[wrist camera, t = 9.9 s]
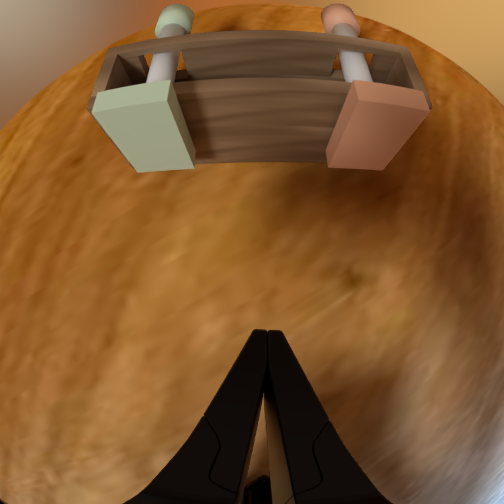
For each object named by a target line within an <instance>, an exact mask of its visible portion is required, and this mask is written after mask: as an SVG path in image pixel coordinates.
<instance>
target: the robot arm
mask: <svg viewBox="0 0 504 504" xmlns="http://www.w3.org/2000/svg"><path fill="white" fill-rule="evenodd" d="M263 393H264V410H265V422H266V433H267V445H268V456H269V468H270V478H269V477H267V476H261V477H259V478H258V479H256V480H255V481H254V482H252V483H251V484H249V485H248V486H247V487H245V483H246V479H247V474H248V469H249V465H250V460H251V455H252V451H253V446H254V441H255V436H256V431H257V426H258V421H259V416H260V411H261V406H262V400H263ZM328 420H329V418H328V416H327V414H326V412H325V410H324V408H323V407H322V405H321V403H320V401H319V399H318V397H317V396H316V394H315V392H314V390H313V388H312V386H311V384H310V383H309V381H308V379H307V377H306V375H305V373H304V371H303V369H302V368H301V366H300V364H299V362H298V360H297V358H296V356H295V355H294V353H293V351H292V349H291V347H290V345H289V343H288V341H287V340H286V338H285V336H284V334H283V332H282V331H280V330H269V331H268V332H267V330H263V329H254V330H253V331H252V333H251V335H250V336H249V338H248V340H247V342H246V343H245V345H244V347H243V349H242V350H241V352H240V354H239V356H238V357H237V359H236V361H235V362H234V364H233V366H232V368H231V369H230V371H229V373H228V374H227V376H226V378H225V380H224V381H223V383H222V385H221V386H220V388H219V390H218V391H217V393H216V395H215V396H214V398H213V400H212V401H211V403H210V405H209V406H208V408H207V410H206V411H205V413H204V416H202V418H201V419H200V421H199V423H198V424H197V426H196V427H195V429H194V430H193V432H192V433H191V435H190V436H189V438H188V439H187V441H186V442H185V443H184V444H183V446H182V447H181V448H180V449H179V451H178V452H177V453H176V454H175V456H174V457H173V458H172V459H171V460H170V461H169V462H168V464H167V465H166V466H165V467H164V468H163V469H162V470H161V472H160V473H159V474H158V475H157V476H156V477H155V478H154V479H153V480H152V481H151V483H150V484H149V485H148V486H147V487H145V488H144V489H143V490H142V491H141V492H140V493H139V494H137V495H136V496H134V497H133V498H131V499H130V500H128V501H126V502H125V503H123V504H393V503H391V502H390V501H389V500H387V499H386V498H385V497H384V496H383V495H382V494H381V493H380V492H379V491H378V490H377V488H376V487H375V486H374V485H373V483H372V482H371V481H370V479H369V478H368V477H367V476H366V474H365V473H364V472H363V470H362V469H361V468H360V466H359V465H358V464H357V462H356V461H355V460H354V458H353V457H352V456H351V454H350V453H349V451H348V450H347V448H346V447H345V445H344V444H343V442H342V441H341V439H340V437H339V435H338V434H337V432H336V430H335V429H334V427H333V425H332V423H331V421H328ZM263 480H265V481H266V482H265V483H263V482H261V481H263ZM0 504H7V503H6V502H4V501H3V500H1V499H0Z"/></svg>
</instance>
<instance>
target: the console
mask: <svg viewBox="0 0 504 504" xmlns="http://www.w3.org/2000/svg"><path fill="white" fill-rule="evenodd" d="M179 49H181V52H182V55H183V59H184V63H185V66H186V70H179V71H176V76H175V81H174V83H172V85H173V88H174V91H175V93H176V96H177V99H178V102H179V105H180V108H181V111H182V113H183V116H184V119H185V122H186V125H187V128H188V130H189V133H190V136H191V139H192V142H193V144H194V147H195V150H196V154H195V164H207V163H235V162H311V163H327V156H326V148H327V145H328V143H329V140H330V138H331V135H332V133H333V130H334V128H335V125H336V123H337V120H338V118H339V115H340V113H341V110H342V108H343V105H344V102H345V100H346V97H347V95H348V92H349V89H350V87H351V84H352V83H350V82H345V79H344V75H343V71H342V70H338V69H333V65H334V62H335V58H336V55H337V51H338V49H345V50H352V51H359V52H366V53H372V54H374V55H373V57H372V59H371V62H370V64H369V67H368V68H369V71H370V74H371V77H372V80H373V82H375V83H382V84H388V85H394V86H399V87H405V88H410V89H414V90H419V91H423V93H424V95H425V98H426V101H427V103H428V106H429V109H430V110H431V109H432V104H431V102H430V99H429V96H428V94H427V91H426V89H425V86H424V84H423V81H422V79H421V76H420V74H419V72H418V69H417V67H416V65H415V63H414V60H413V58H412V56H411V54H410V52H409V50H408V48H407V47H404V46H400V45H395V44H391V43H386V42H381V41H375V40H370V39H364V38H358V37H351V36H344V35H336V34H327V33H317V32H304V31H284V30H238V31H218V32H205V33H195V34H186V35H178V36H171V37H164V38H158V39H152V40H146V41H141V42H136V43H131V44H126V45H122V46H117V47H113V48H109V50H108V52H107V54H106V57H105V59H104V62H103V64H102V67H101V69H100V72H99V75H98V77H97V80H96V83H95V86H94V88H93V91H92V94H91V97H90V100H89V103H88V106H87V110H88V111H89V113H90V114H91V115H92V117H93V118H94V119H95V121H96V122H97V123H98V124H99V122H98V121H97V120H96V118H95V117H94V116H93V114H92V113H91V112H92V109H93V106H94V103H95V99H96V96H97V93H98V92H102V91H106V90H111V89H116V88H121V87H127V86H132V85H138V84H144V83H146V81H147V77H148V74H149V67H148V65H147V62H146V60H145V57H144V55H145V54H151V53H157V52H164V51H171V50H179ZM99 126H100V127H101V128H102V130H103V131H104V132H105V133H106V131H105V130H104V129H103V127H102V126H101V125H100V124H99ZM106 135H107V136H108V137H109V135H108V134H107V133H106ZM109 139H110V140H111V141H112V142H113V140H112V139H111V138H110V137H109ZM113 144H114V145H115V146H116V144H115V143H114V142H113ZM116 148H117V149H118V150H119V151H120V149H119V148H118V147H117V146H116ZM120 153H121V154H122V155H123V153H122V152H121V151H120ZM123 156H124V155H123ZM124 158H125V159H126V160H127V158H126V157H125V156H124ZM127 161H128V160H127ZM128 163H129V164H130V165H131V163H130V162H129V161H128ZM131 166H132V165H131ZM132 168H133V169H135V168H134V167H133V166H132Z"/></svg>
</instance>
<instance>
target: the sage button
mask: <svg viewBox="0 0 504 504" xmlns="http://www.w3.org/2000/svg"><path fill="white" fill-rule="evenodd" d="M193 20H194V13H193V11H192V10H191V9H190V8H189V7H187V6H185V5H181V4H175V5H170V6H168V7H166V8H165V9H164V10H163V11H162V12H161V15H160V18H159V21H158V23H157V26H156V29H155V35H156V37H157V38H164V37H171V36H178V35H186V34H190V33H191V29H192V24H193ZM180 51H181V49H179V50H171V51H164V52H157V53H154V55H153V59H152V62H151V66H150V70H149V74H148V77H147V81H146V83H144V84H138V85H132V86H127V87H121V88H116V89H111V90H106V91H102V92H98V93H97V96H96V99H95V103H94V106H93V109H92V112H91V113H92V114H93V116H94V117H95V118H96V120H97V121H98V122H99V124H100V125H101V126H102V127H103V129H104V130H105V131H106V133H107V134H108V135H109V137H110V138H111V139H112V140H113V142H114V143H115V144H116V146H117V147H118V148H119V149H120V151H121V152H122V153H123V155H124V156H125V157H126V158H127V160H128V161H129V162H130V163H131V165H132V166H133V167H134V168H135V170H136V171H137V172H138V173H139V172H151V171H164V170H179V169H194V168H195V154H196V150H195V147H194V144H193V142H192V139H191V136H190V133H189V130H188V128H187V125H186V122H185V119H184V116H183V113H182V111H181V108H180V105H179V102H178V99H177V96H176V93H175V91H174V88H173V85H172V83H174V81H175V76H176V71H177V66H178V61H179V56H180Z"/></svg>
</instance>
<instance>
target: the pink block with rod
mask: <svg viewBox="0 0 504 504" xmlns="http://www.w3.org/2000/svg"><path fill="white" fill-rule="evenodd" d="M321 19H322V22H323V25H324V29H325V32H326V33H327V34H336V35H344V36H351V37H359V35H360V32H361V30H360V26H359V24H358V22H357V19H356V17H355V15H354V13H353V11H352V9H351V8H350V7H348V6H346V5H344V4H331V5H329V6H327V7H325V8H324V9H323V11H322V13H321ZM337 52H338V56H339V60H340V63H341V67H342V71H343V75H344V79H345V82H350V83H352V84H351V87H350V89H349V92H348V95H347V97H346V100H345V102H344V105H343V108H342V110H341V113H340V115H339V118H338V120H337V123H336V125H335V128H334V130H333V133H332V135H331V138H330V140H329V143H328V145H327V148H326V156H327V165H328V168H350V169H368V170H382V171H383V170H384V169H385V167H386V166H387V165H388V164H389V162H390V161H391V160H392V159H393V158H394V156H395V155H396V154H397V153H398V151H399V150H400V149H401V148H402V147H403V145H404V144H405V143H406V142H407V140H408V139H409V138H410V137H411V135H412V134H413V133H414V132H415V130H416V129H417V128H418V127H419V125H420V124H421V123H422V122H423V120H424V119H425V118H426V116H427V115H428V114H429V113H430V109H429V106H428V103H427V101H426V98H425V95H424V93H423V91H419V90H414V89H410V88H405V87H399V86H394V85H388V84H382V83H375V82H373V80H372V77H371V74H370V71H369V68H368V65H367V62H366V59H365V56H364V53H363V52H359V51H352V50H345V49H338V51H337Z"/></svg>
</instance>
